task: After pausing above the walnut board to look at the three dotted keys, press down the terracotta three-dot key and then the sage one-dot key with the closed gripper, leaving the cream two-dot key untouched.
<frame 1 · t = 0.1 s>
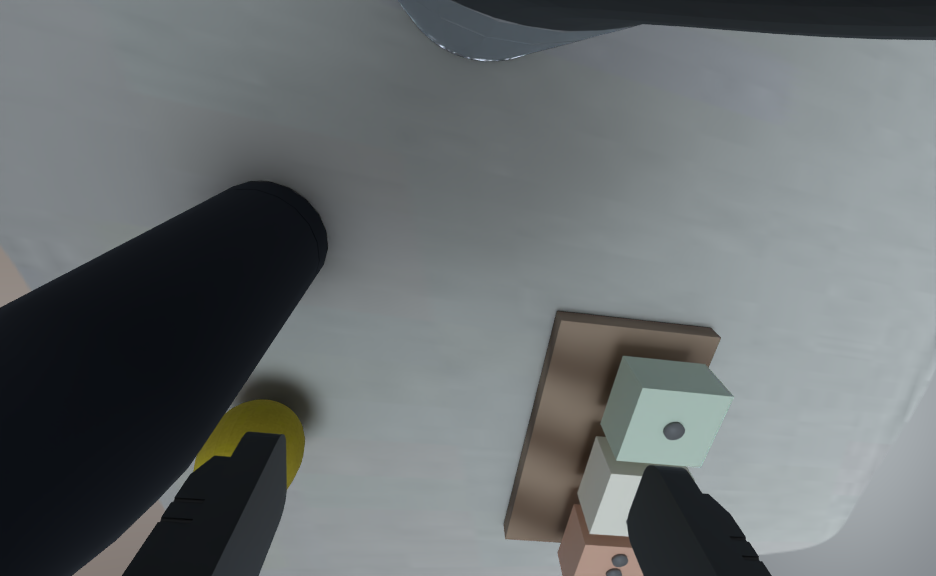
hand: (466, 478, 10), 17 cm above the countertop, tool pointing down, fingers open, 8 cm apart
board: (596, 436, 33), on the countertop
key two: (632, 488, 29), point 4 cm above the countertop, slide at 0.0 cm
wine bottle: (270, 237, 26), on the countertop
key three: (606, 552, 31), point 4 cm above the countertop, slide at 0.0 cm
key one: (662, 412, 26), point 4 cm above the countertop, slide at 0.0 cm
lemon: (277, 407, 31), on the countertop
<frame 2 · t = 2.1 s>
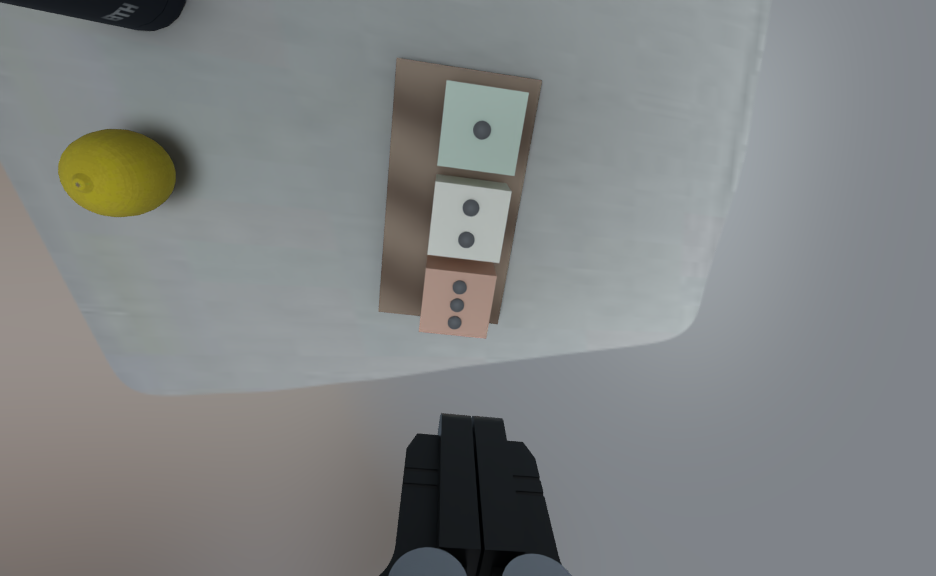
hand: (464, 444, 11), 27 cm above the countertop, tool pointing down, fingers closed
board: (452, 202, 36), on the countertop
key two: (467, 218, 32), point 4 cm above the countertop, slide at 0.0 cm
key three: (456, 296, 34), point 4 cm above the countertop, slide at 0.0 cm
key one: (480, 128, 30), point 4 cm above the countertop, slide at 0.0 cm
lemon: (158, 164, 34), on the countertop
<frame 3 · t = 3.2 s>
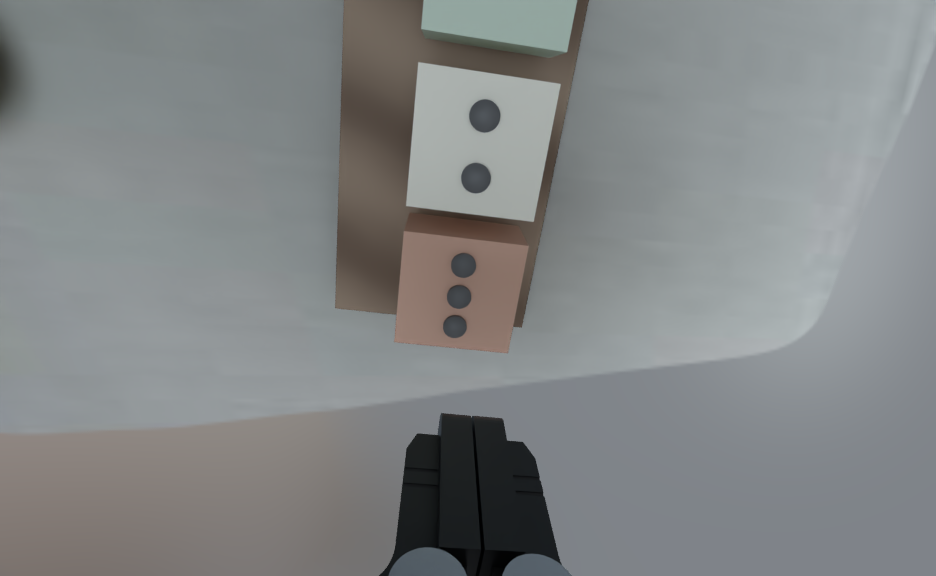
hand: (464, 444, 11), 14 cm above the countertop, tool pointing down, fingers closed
board: (451, 130, 22), on the countertop
key two: (477, 143, 18), point 4 cm above the countertop, slide at 0.0 cm
key three: (458, 283, 21), point 4 cm above the countertop, slide at 0.0 cm
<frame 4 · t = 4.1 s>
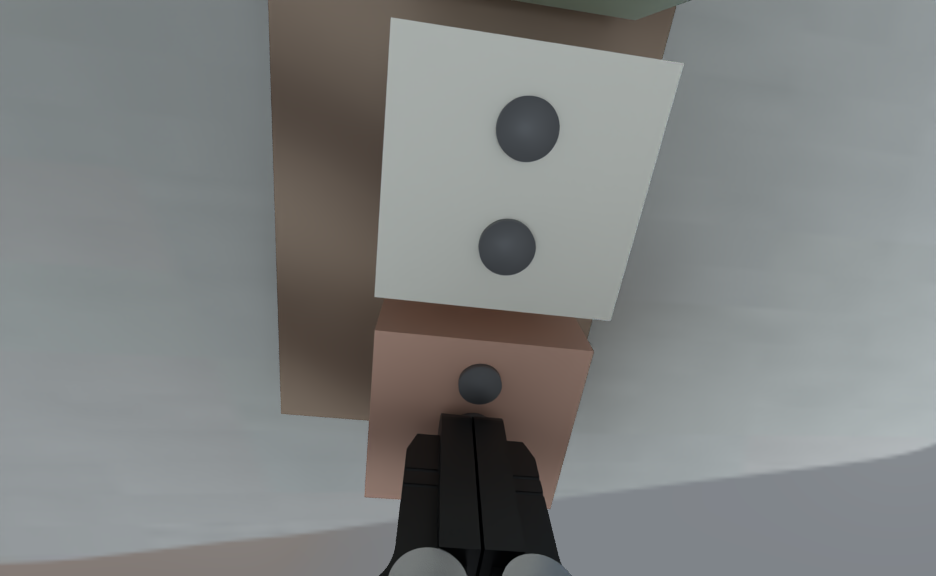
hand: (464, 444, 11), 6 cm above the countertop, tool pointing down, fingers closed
board: (457, 146, 14), on the countertop
key two: (507, 177, 10), point 4 cm above the countertop, slide at 0.0 cm
key three: (469, 394, 13), point 4 cm above the countertop, slide at 0.4 cm, touching gripper
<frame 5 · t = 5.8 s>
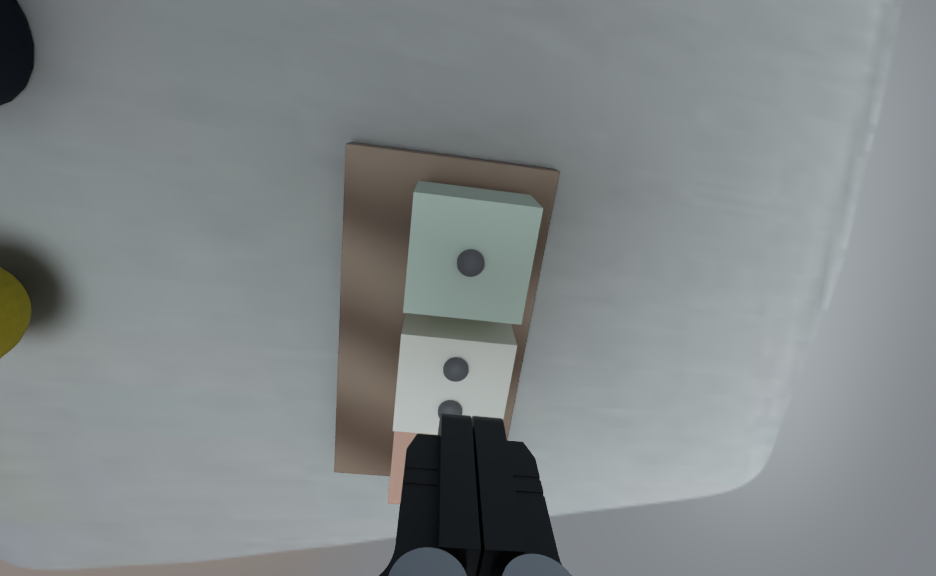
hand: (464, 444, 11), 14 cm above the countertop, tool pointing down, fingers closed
board: (434, 329, 26), on the countertop
key two: (452, 373, 22), point 4 cm above the countertop, slide at 0.0 cm
key three: (439, 451, 25), point 3 cm above the countertop, slide at 1.6 cm
key one: (469, 252, 20), point 4 cm above the countertop, slide at 0.0 cm
lemon: (17, 286, 24), on the countertop
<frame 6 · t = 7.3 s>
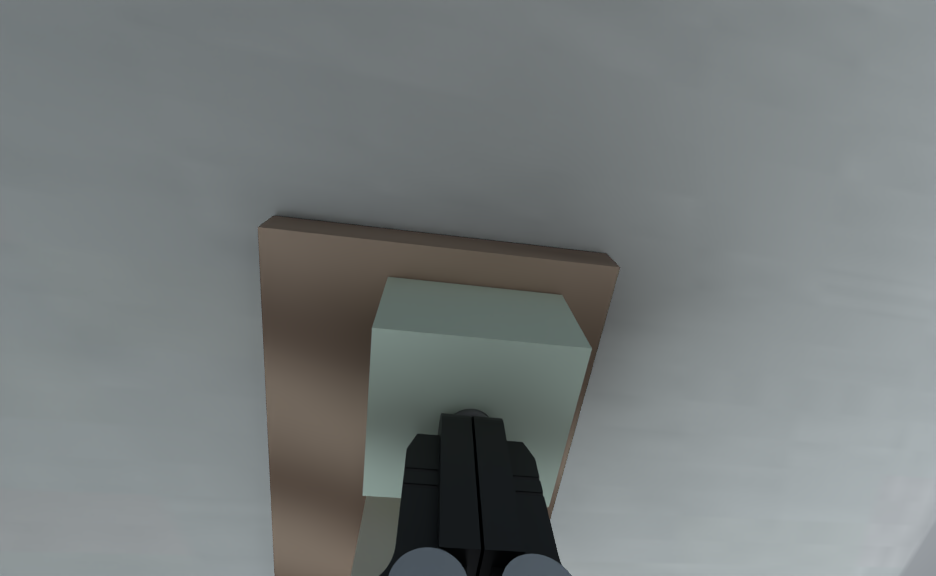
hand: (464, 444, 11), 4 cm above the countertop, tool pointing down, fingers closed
board: (417, 475, 18), on the countertop
key one: (467, 392, 13), point 3 cm above the countertop, slide at 1.5 cm, touching gripper
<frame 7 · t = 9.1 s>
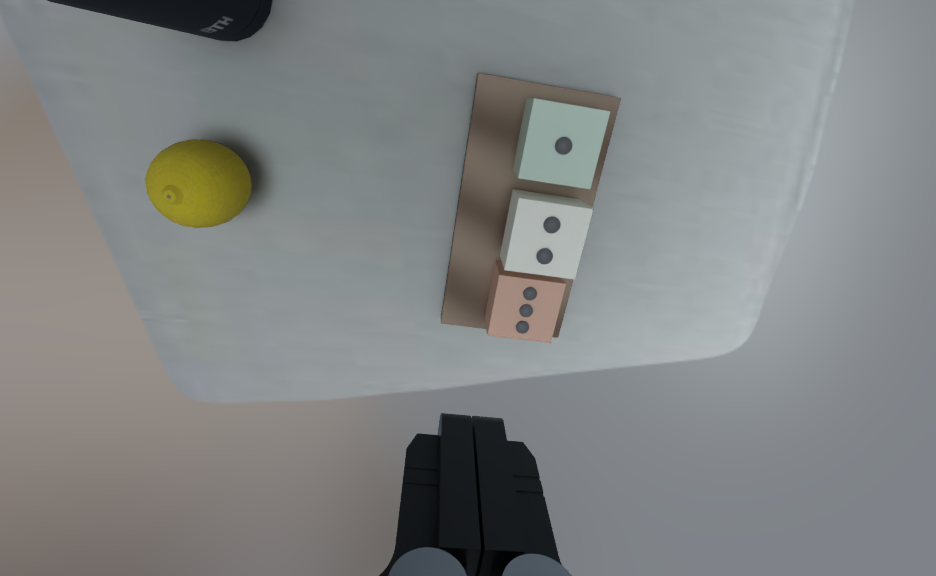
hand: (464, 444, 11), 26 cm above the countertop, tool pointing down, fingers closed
board: (520, 216, 36), on the countertop
key two: (543, 234, 32), point 4 cm above the countertop, slide at 0.0 cm
key three: (523, 302, 36), point 3 cm above the countertop, slide at 1.6 cm
key one: (558, 143, 31), point 3 cm above the countertop, slide at 1.6 cm, touching board
lemon: (230, 173, 34), on the countertop
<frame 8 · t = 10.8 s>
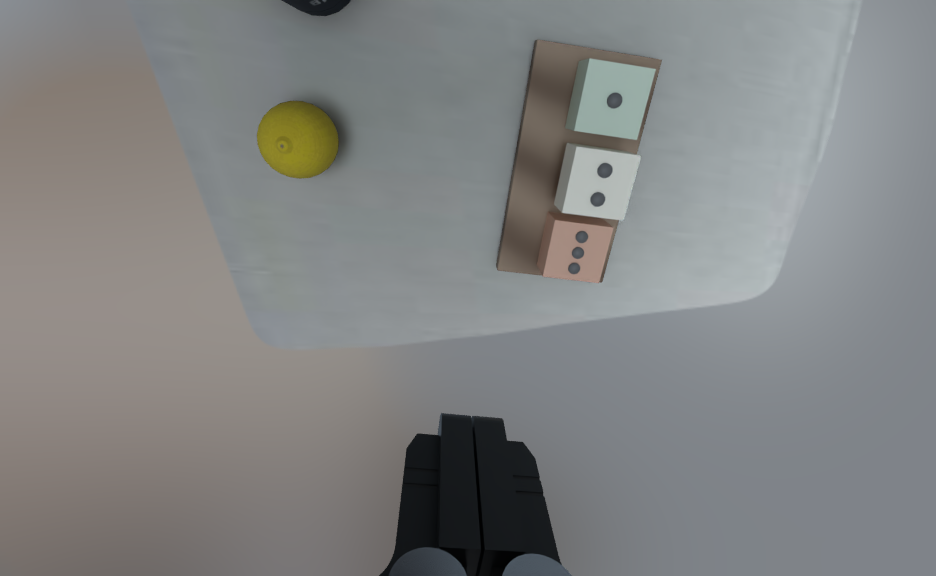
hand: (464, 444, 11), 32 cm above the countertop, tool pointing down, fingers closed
board: (569, 171, 41), on the countertop
key two: (595, 181, 37), point 4 cm above the countertop, slide at 0.0 cm
key three: (573, 247, 40), point 3 cm above the countertop, slide at 1.6 cm
key one: (608, 100, 36), point 3 cm above the countertop, slide at 1.6 cm, touching board
lemon: (314, 135, 39), on the countertop
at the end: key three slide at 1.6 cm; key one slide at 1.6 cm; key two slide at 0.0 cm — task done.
